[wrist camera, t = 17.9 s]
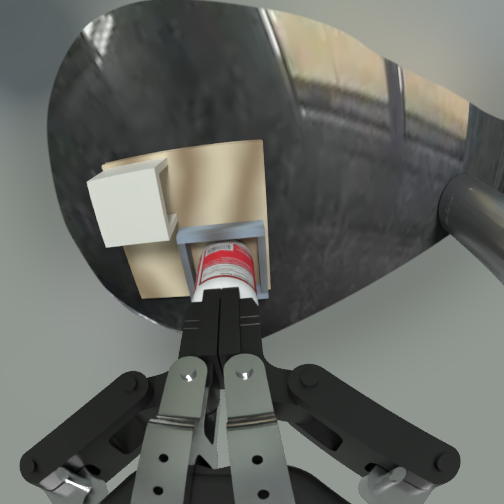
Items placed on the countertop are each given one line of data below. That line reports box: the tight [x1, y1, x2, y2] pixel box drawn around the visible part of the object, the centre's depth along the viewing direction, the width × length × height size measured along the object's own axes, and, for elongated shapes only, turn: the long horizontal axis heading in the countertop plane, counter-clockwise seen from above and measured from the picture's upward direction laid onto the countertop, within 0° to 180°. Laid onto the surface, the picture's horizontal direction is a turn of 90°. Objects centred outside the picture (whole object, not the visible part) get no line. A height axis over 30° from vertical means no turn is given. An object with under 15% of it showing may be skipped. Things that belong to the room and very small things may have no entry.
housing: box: [87, 157, 178, 247], centre depth 25 cm, size 7×7×4 cm
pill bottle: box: [192, 239, 258, 305], centre depth 27 cm, size 6×6×11 cm
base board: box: [102, 140, 270, 301], centre depth 29 cm, size 17×18×4 cm
